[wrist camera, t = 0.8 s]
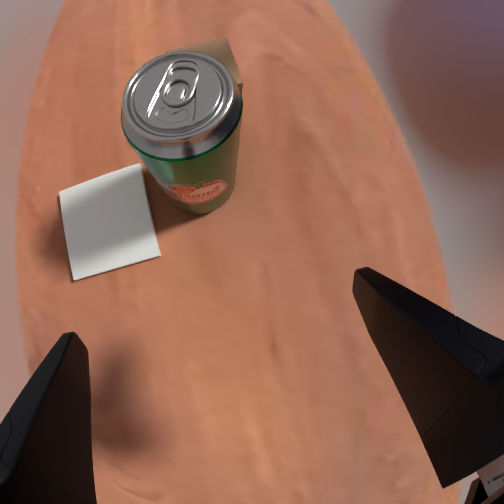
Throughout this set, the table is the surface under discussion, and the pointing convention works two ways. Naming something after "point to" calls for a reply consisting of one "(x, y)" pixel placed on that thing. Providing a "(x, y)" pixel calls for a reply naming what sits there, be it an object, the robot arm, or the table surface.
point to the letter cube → (217, 55)
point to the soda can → (186, 127)
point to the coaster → (108, 223)
